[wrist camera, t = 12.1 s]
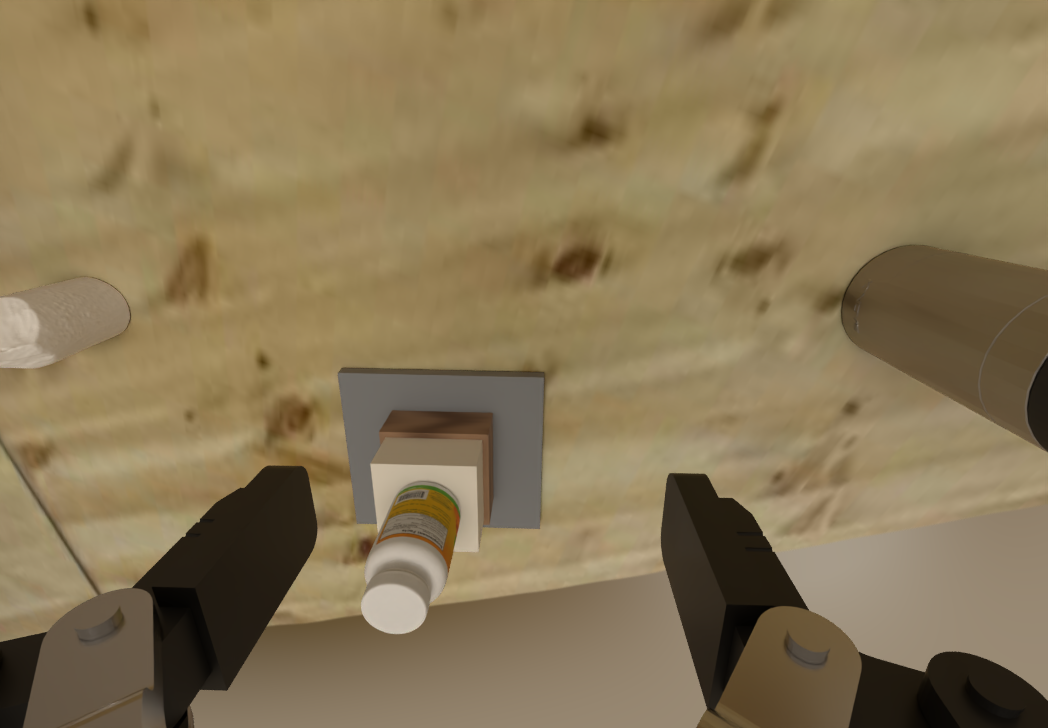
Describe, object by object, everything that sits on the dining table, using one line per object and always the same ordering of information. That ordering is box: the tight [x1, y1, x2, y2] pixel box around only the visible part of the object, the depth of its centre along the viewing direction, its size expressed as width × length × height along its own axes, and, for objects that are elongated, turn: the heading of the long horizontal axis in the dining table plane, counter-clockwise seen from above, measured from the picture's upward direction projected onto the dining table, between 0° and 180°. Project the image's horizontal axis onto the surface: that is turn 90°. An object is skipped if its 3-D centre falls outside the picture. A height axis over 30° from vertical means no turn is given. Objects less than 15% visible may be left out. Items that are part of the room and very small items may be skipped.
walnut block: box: [379, 410, 494, 525], centre depth 45 cm, size 9×9×4 cm
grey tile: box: [338, 368, 544, 529], centre depth 47 cm, size 18×16×1 cm
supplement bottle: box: [361, 482, 461, 634], centre depth 35 cm, size 5×5×10 cm
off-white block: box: [370, 437, 484, 552], centre depth 41 cm, size 8×8×4 cm
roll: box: [0, 277, 130, 368], centre depth 38 cm, size 6×12×6 cm
